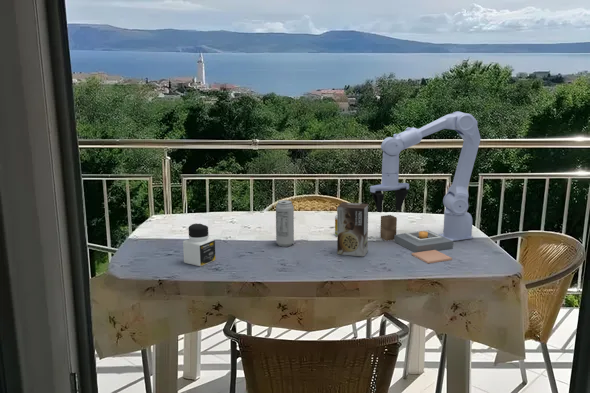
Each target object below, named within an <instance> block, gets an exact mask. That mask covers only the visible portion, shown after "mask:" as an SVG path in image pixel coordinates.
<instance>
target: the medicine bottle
mask: <svg viewBox="0 0 590 393" xmlns="http://www.w3.org/2000/svg"><path fill="white" fill-rule="evenodd" d="M209 236H210V234H209V225H208V224H206V223H203V222H202V223H201V222H200V223H198V222H197V223H193V224H190V225H189V226H188V239H186V240H182V250H183V263H184V264H189V265H193V266H197V267H203V266H205V265H208V264H210V263H213V262H215V261H216V239H215V238H211V237H209Z"/></svg>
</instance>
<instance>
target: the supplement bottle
mask: <svg viewBox="0 0 590 393" xmlns="http://www.w3.org/2000/svg"><path fill="white" fill-rule="evenodd" d="M334 235H335V237H337V214H335V216H334Z"/></svg>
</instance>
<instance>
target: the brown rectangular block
mask: <svg viewBox="0 0 590 393" xmlns="http://www.w3.org/2000/svg"><path fill="white" fill-rule="evenodd" d="M397 218H398V217H397V216H395V215H392V214H387V215H381V216H380V232H379V234H380V235H379V237H380V239H382V240H383V241H386V242H387V241H388V240H389V241H394V235H397V221H398V219H397Z"/></svg>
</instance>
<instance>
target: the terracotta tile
mask: <svg viewBox="0 0 590 393" xmlns="http://www.w3.org/2000/svg"><path fill="white" fill-rule="evenodd" d="M411 256H413V257H415V258H416V259H419V260H421V261H422V262H424V263H425V264H426V263H427V264H434V263H439V262H440V263H441V262H447V261H452V260H453V257H451V256H449V255H446V254H445V253H443V252H440V250H438V251H436V250H430V251H423V252H416V253H415V252H412V253H411Z"/></svg>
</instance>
